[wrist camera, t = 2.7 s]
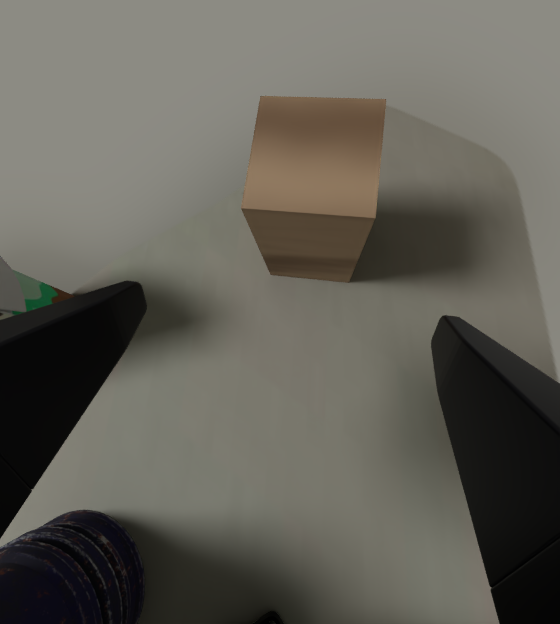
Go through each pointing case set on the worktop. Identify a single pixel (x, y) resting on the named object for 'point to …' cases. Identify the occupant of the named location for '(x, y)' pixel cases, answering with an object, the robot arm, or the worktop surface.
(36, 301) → the food container
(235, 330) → the worktop surface
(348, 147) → the tan rectangular block
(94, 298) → the robot arm
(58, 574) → the storage jar
